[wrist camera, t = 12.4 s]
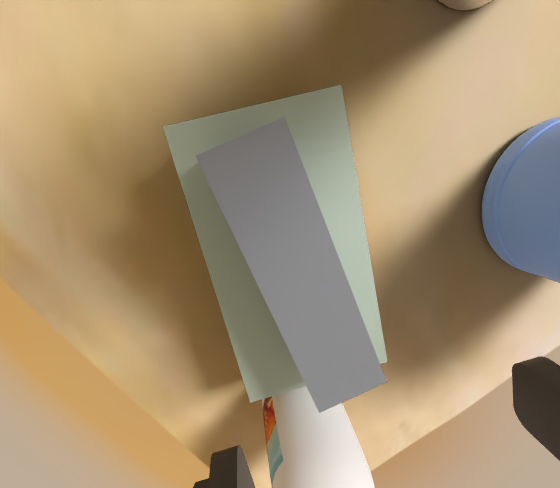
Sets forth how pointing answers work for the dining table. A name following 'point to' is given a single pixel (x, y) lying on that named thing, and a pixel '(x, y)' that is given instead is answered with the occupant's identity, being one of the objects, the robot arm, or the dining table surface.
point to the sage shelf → (226, 252)
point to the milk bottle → (312, 444)
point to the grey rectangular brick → (294, 261)
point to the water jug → (527, 202)
